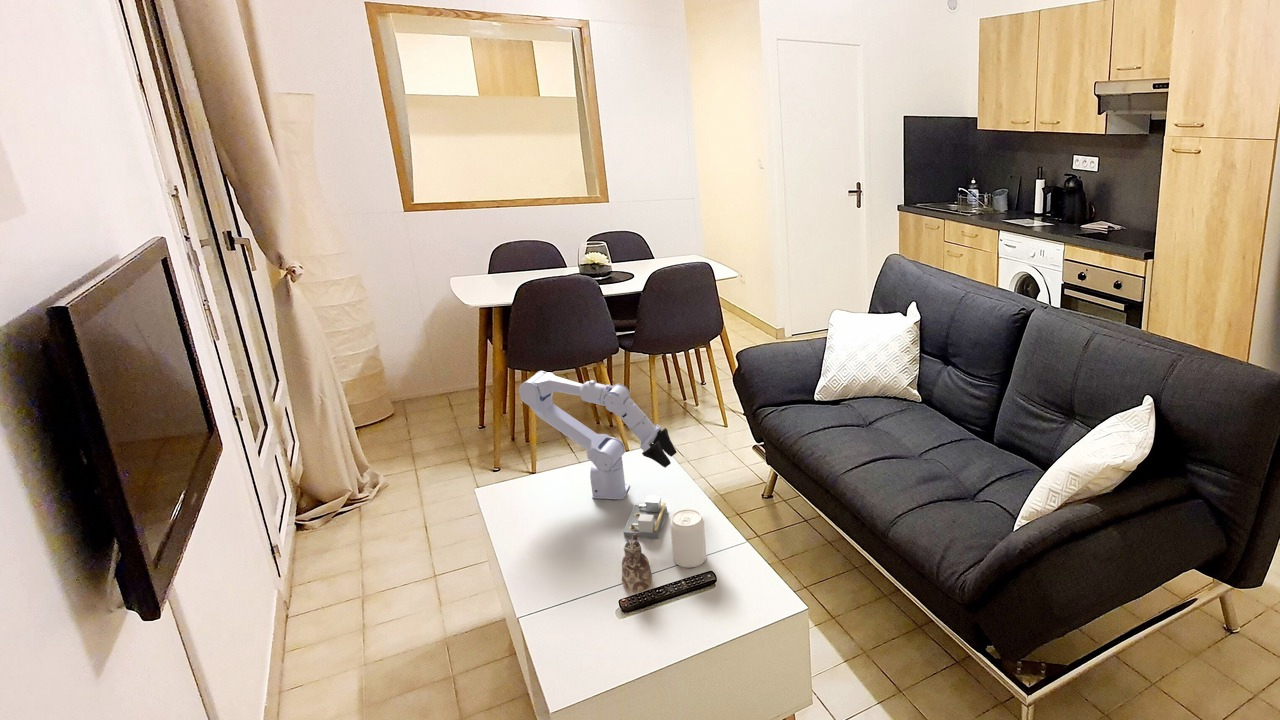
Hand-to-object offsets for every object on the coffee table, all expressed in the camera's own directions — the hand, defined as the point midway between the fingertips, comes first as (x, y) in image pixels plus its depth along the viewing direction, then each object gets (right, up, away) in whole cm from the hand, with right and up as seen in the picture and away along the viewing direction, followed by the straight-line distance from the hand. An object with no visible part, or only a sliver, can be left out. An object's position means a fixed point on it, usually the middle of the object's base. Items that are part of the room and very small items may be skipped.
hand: (671, 459), depth 191 cm
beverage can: (+4, -21, -21) cm, 30 cm away
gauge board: (-7, -16, -5) cm, 18 cm away
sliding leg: (-6, -13, -2) cm, 14 cm away
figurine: (-9, -25, -28) cm, 38 cm away
